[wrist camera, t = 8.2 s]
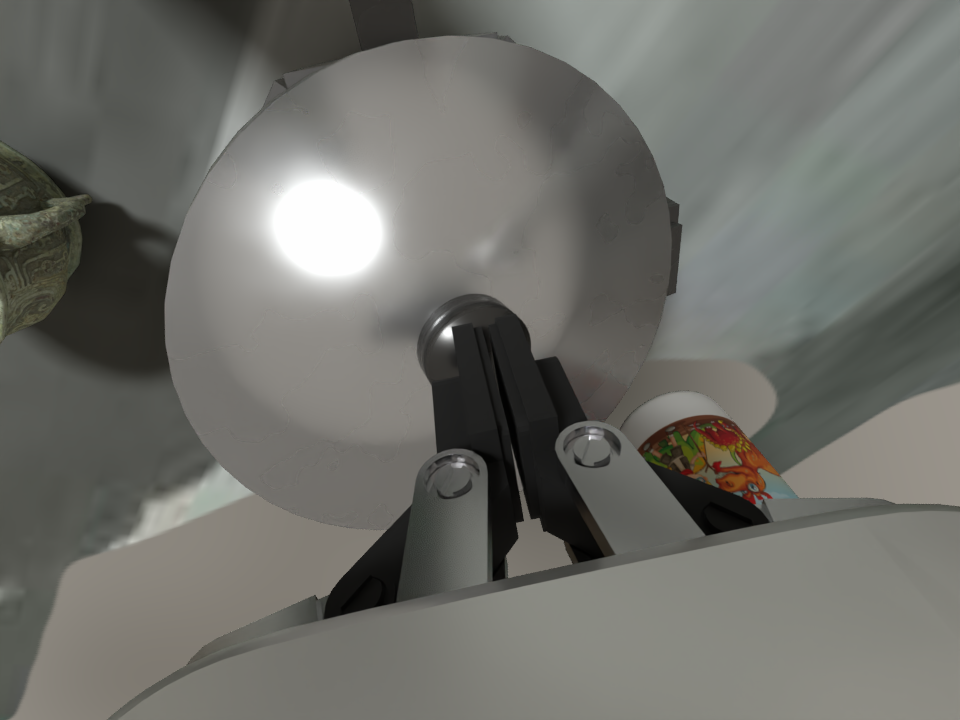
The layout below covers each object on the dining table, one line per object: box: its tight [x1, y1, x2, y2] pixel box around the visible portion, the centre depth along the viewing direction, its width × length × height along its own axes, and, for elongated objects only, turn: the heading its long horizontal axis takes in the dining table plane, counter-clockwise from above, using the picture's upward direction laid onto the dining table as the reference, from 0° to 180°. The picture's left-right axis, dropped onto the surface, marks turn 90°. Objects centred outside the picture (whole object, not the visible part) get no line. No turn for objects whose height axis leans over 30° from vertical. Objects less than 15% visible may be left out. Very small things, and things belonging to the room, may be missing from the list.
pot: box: [263, 0, 679, 223], centre depth 19 cm, size 15×20×8 cm
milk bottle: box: [620, 391, 798, 504], centre depth 25 cm, size 8×8×20 cm
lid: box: [165, 35, 682, 530], centre depth 13 cm, size 15×14×2 cm
